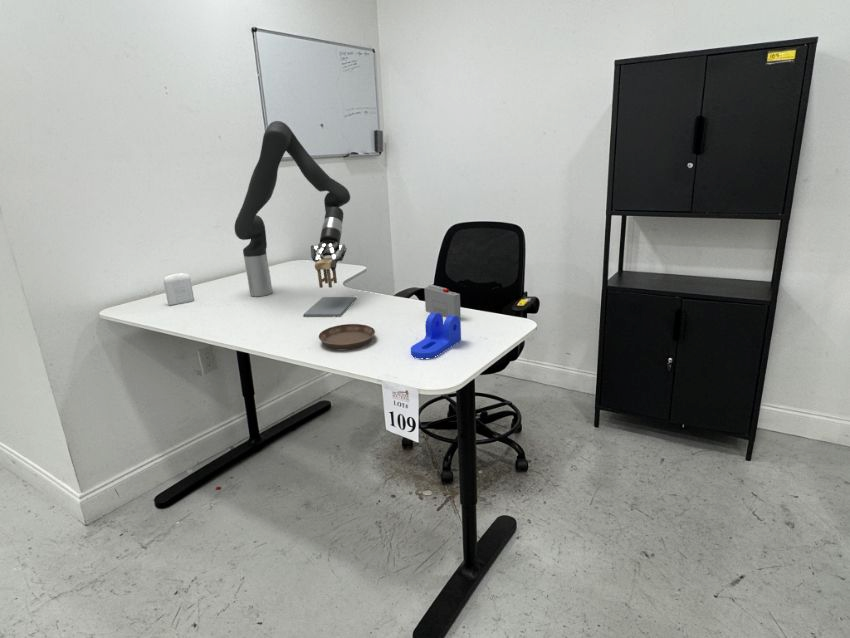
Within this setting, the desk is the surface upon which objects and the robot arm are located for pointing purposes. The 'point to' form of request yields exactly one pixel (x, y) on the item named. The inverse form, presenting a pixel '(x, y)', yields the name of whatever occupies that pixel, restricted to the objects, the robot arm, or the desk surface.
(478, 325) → the desk surface
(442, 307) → the cassette player
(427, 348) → the bracket
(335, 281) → the oak stool
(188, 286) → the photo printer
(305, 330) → the desk surface
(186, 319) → the desk surface
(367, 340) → the plant saucer
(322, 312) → the grey mat
